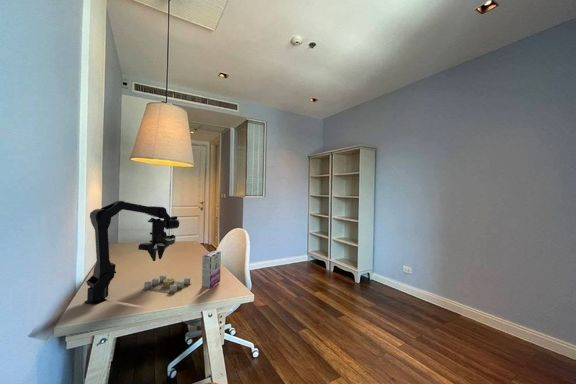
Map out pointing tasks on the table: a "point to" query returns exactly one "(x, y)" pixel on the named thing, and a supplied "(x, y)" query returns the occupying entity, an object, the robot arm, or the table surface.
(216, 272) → the candy bar box
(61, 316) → the table surface
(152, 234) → the robot arm
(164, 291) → the board
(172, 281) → the hexagonal box
